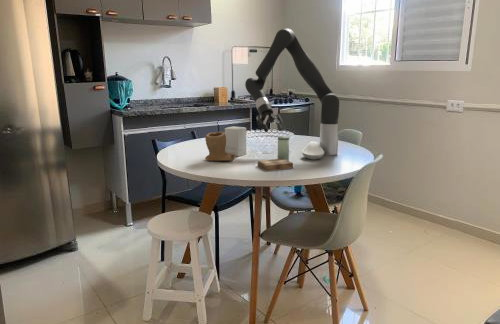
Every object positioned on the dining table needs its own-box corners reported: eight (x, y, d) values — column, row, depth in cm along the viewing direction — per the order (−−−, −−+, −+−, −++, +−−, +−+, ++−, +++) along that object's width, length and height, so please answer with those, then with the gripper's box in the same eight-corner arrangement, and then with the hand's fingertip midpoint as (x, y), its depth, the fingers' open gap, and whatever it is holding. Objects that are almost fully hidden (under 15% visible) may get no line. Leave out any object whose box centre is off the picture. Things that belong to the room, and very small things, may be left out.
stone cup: (202, 163, 190) (201, 133, 186) (207, 157, 201) (207, 129, 198) (232, 164, 188) (232, 134, 185) (236, 158, 200) (235, 130, 196)
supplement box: (247, 153, 211) (247, 127, 208) (238, 156, 204) (238, 129, 200) (233, 152, 216) (233, 125, 212) (224, 155, 208) (224, 128, 205)
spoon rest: (324, 161, 195) (324, 148, 193) (301, 160, 197) (301, 147, 195) (322, 151, 218) (323, 139, 216) (302, 151, 220) (302, 139, 218)
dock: (283, 163, 190) (283, 158, 189) (292, 167, 181) (293, 162, 181) (257, 165, 185) (257, 160, 184) (266, 170, 176) (266, 165, 175)
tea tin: (285, 158, 200) (286, 135, 197) (290, 160, 195) (291, 137, 192) (275, 159, 198) (275, 136, 195) (280, 161, 193) (281, 138, 190)
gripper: (254, 103, 203) (265, 127, 195) (277, 102, 209) (288, 125, 202) (250, 112, 208) (260, 136, 201) (272, 111, 215) (282, 134, 208)
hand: (274, 130), depth 202 cm, fingers open, 8 cm apart
